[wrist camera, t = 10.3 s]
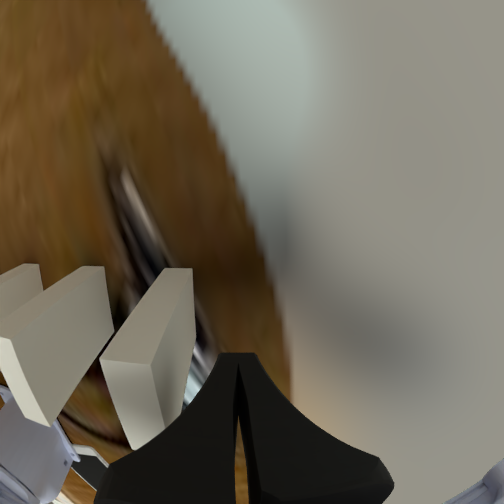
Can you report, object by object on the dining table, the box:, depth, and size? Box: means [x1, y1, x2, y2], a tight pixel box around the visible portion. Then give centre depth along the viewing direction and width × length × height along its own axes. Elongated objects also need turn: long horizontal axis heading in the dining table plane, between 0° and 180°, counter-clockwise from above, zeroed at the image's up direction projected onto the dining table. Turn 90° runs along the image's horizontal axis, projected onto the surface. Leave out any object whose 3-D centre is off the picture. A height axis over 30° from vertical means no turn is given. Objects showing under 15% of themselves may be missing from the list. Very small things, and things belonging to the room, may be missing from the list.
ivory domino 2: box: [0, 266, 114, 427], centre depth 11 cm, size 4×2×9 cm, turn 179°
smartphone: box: [71, 444, 109, 491], centre depth 21 cm, size 8×1×15 cm
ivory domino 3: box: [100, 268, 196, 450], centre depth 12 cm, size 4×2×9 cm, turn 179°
